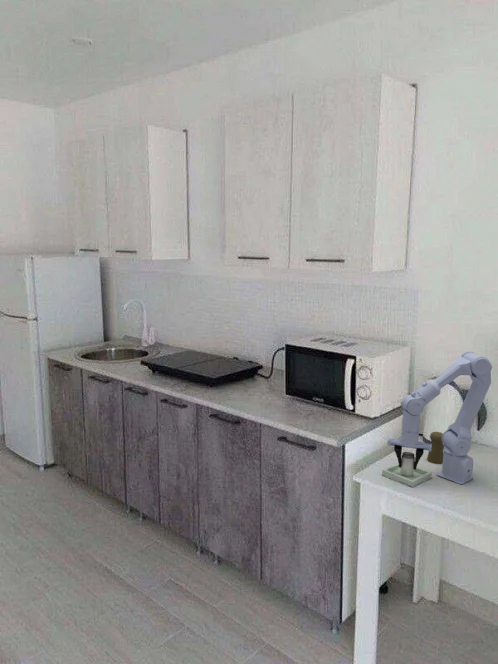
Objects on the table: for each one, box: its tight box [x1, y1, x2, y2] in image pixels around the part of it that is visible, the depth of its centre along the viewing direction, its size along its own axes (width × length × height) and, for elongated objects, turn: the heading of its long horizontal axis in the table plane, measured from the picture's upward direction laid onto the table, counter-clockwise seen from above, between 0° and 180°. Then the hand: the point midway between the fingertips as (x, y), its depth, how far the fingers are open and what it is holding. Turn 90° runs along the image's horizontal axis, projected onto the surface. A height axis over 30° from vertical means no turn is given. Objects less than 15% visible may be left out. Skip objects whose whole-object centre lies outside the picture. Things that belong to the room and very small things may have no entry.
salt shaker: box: [401, 451, 416, 476], centre depth 181 cm, size 4×4×7 cm
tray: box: [381, 462, 433, 488], centre depth 181 cm, size 12×12×2 cm
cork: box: [426, 431, 444, 465], centre depth 195 cm, size 6×6×11 cm
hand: (407, 467), depth 181 cm, fingers closed on salt shaker, 4 cm apart
